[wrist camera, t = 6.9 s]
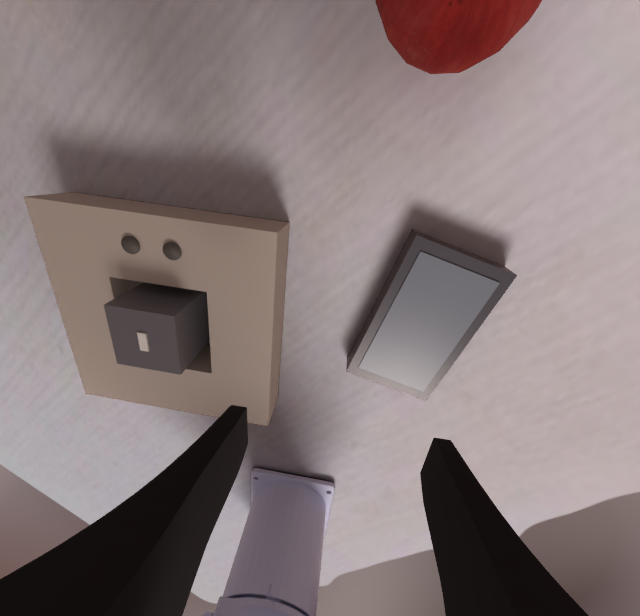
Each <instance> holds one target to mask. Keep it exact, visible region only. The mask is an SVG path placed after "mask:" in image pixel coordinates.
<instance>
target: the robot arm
mask: <svg viewBox="0 0 640 616" xmlns="http://www.w3.org/2000/svg"><path fill="white" fill-rule="evenodd" d="M247 444H248V432H247V407H242V406H236V405H231V406H229V407H228V408H227V410H226V411H225V412H224V413H223V414H222V415H221V416H220V417H219V418H218V419H217V420H216V421H215V422H214V423H213V425H212V426H211V427H210V428H209V429H208V430H207V431H206V432H205V433H204V434H203V435H202V436H201V437H200V438H199V439H198V440H197V441H195V442H194V443H193V444H192V445H191V446H190V447H189V448H188V449H187V450H186V451H185V452H184V453H183V454H182V455H181V456H179V457H178V458H177V459H176V460H175V461H174V462H173V463H172V464H170V465H169V466H168V467H167V468H166V469H165V470H164V471H162V472H161V473H160V474H159V475H158V476H156V477H155V478H154V479H153V480H152V481H150V482H149V483H148V484H147V485H145V486H144V487H143V488H141V489H140V490H139V491H138V492H136V493H135V494H134V495H132V496H131V497H130V498H128V499H127V500H125V501H124V502H123V503H121V504H120V505H119V506H117V507H116V508H115V509H113V510H112V511H110V512H109V513H107V514H106V515H105V516H103V517H102V518H100V519H99V520H97V521H96V522H94V523H93V524H91V525H90V526H88V527H87V528H85V529H83V530H82V531H80V532H79V533H77V534H76V535H74V536H72V537H71V538H69V539H68V540H66V541H65V542H63V543H62V544H60V545H58V546H57V547H55V548H53V549H52V550H50V551H48V552H47V553H45V554H43V555H42V556H40V557H38V558H37V559H35V560H33V561H32V562H30V563H28V564H26V565H24V566H23V567H21V568H19V569H17V570H16V571H14V572H12V573H11V574H9V575H7V576H5V577H3V578H2V579H0V616H182V614H183V612H184V609H185V606H186V603H187V600H188V597H189V593H190V591H191V588H192V585H193V582H194V579H195V576H196V573H197V571H198V568H199V565H200V562H201V559H202V556H203V553H204V551H205V548H206V545H207V543H208V540H209V538H210V535H211V533H212V531H213V528H214V526H215V524H216V522H217V519H218V517H219V515H220V513H221V510H222V508H223V506H224V504H225V501H226V499H227V497H228V495H229V492H230V490H231V488H232V486H233V483H234V481H235V479H236V476H237V474H238V472H239V469H240V466H241V463H242V460H243V457H244V454H245V451H246V447H247ZM420 474H421V484H422V493H423V502H424V507H425V512H426V517H427V521H428V526H429V531H430V535H431V540H432V544H433V549H434V553H435V558H436V562H437V567H438V571H439V576H440V581H441V587H442V592H443V598H444V605H445V613H446V616H588V615H587V614H586V613H585V612H584V610H583V609H582V608H581V607H580V606H579V605H578V604H577V603H576V602H575V601H574V600H573V599H572V598H571V597H570V596H569V594H568V593H566V591H565V590H564V589H563V588H562V587H561V586H560V585H559V584H558V583H557V581H556V580H555V579H554V578H553V577H552V576H551V575H550V574H549V572H548V571H547V570H546V569H545V568H544V567H543V566H542V564H541V563H540V562H539V561H538V559H537V558H536V557H535V556H534V555H533V554H532V552H531V551H530V550H529V549H528V548H527V546H526V545H525V544H524V543H523V542H522V541H521V539H520V538H519V536H518V535H517V534H516V533H515V531H514V530H513V529H512V527H511V526H510V525H509V523H508V522H507V521H506V520H505V518H504V517H503V516H502V514H501V513H500V512H499V510H498V509H497V508H496V506H495V505H494V503H493V502H492V501H491V499H490V498H489V496H488V495H487V493H486V492H485V491H484V489H483V488H482V486H481V485H480V484H479V482H478V481H477V479H476V478H475V476H474V475H473V473H472V472H471V470H470V469H469V467H468V466H467V464H466V463H465V461H464V460H463V458H462V457H461V455H460V454H459V452H458V451H457V449H456V448H455V446H454V445H453V443H452V442H451V440H445V439H439V438H434V439H433V441H432V444H431V447H430V449H429V452H428V454H427V457H426V460H425V462H424V465H423V468H422V470H421V473H420ZM334 491H335V485H334V483H332V482H328V481H323V480H317V479H312V478H307V477H301V476H296V475H291V474H285V473H280V472H275V471H269V470H264V469H259V468H254V469H252V472H251V506H250V511H249V515H248V518H247V521H246V524H245V527H244V530H243V534H242V537H241V540H240V543H239V546H238V549H237V553H236V556H235V559H234V562H233V565H232V568H231V572H230V575H229V578H228V581H227V584H226V587H225V591H224V594H223V597H222V596H221V597H219V600H218V603H217V607H216V610H215V613H214V616H316V611H317V601H318V590H319V579H320V569H321V558H322V548H323V540H324V537H325V532H326V528H327V523H328V519H329V514H330V509H331V505H332V500H333V496H334ZM202 616H213V612H210V611H208V610H207V611H205V612H204V613H203V615H202Z"/></svg>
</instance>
